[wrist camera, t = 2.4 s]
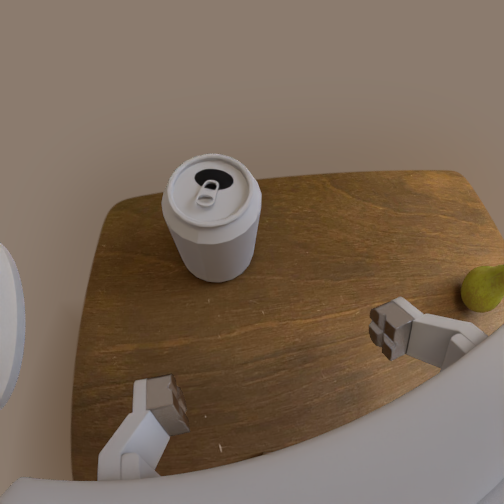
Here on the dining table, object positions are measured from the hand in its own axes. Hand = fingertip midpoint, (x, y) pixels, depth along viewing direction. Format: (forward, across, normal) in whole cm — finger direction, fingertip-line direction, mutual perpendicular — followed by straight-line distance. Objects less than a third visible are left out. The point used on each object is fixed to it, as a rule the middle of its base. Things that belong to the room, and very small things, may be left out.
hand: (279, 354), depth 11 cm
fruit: (+11, -28, +15) cm, 34 cm away
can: (+21, 0, +4) cm, 22 cm away
